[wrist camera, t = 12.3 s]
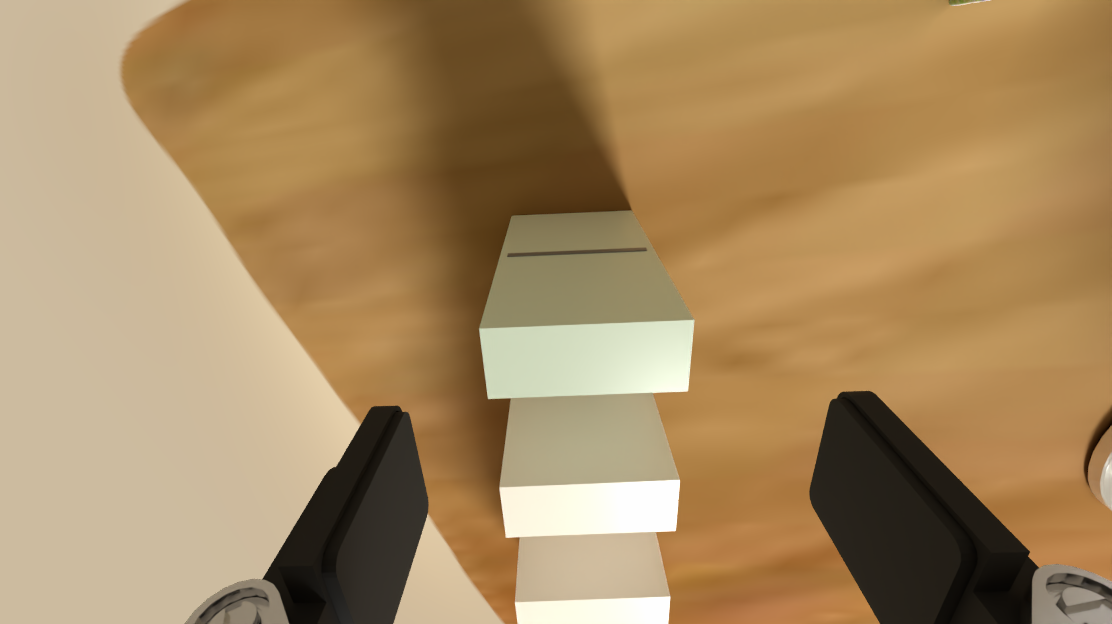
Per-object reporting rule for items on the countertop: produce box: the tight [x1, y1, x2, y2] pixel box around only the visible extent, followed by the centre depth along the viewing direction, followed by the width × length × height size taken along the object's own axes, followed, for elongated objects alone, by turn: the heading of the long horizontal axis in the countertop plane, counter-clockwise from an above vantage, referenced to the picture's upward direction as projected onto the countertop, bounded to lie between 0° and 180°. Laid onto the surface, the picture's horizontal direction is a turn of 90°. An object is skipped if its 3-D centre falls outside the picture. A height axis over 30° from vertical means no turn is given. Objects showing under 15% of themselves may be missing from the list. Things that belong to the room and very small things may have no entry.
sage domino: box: [479, 210, 694, 399], centre depth 20 cm, size 2×6×12 cm, turn 92°
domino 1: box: [499, 393, 680, 538], centre depth 22 cm, size 2×6×12 cm, turn 93°
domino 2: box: [515, 532, 670, 624], centre depth 25 cm, size 2×6×12 cm, turn 93°
